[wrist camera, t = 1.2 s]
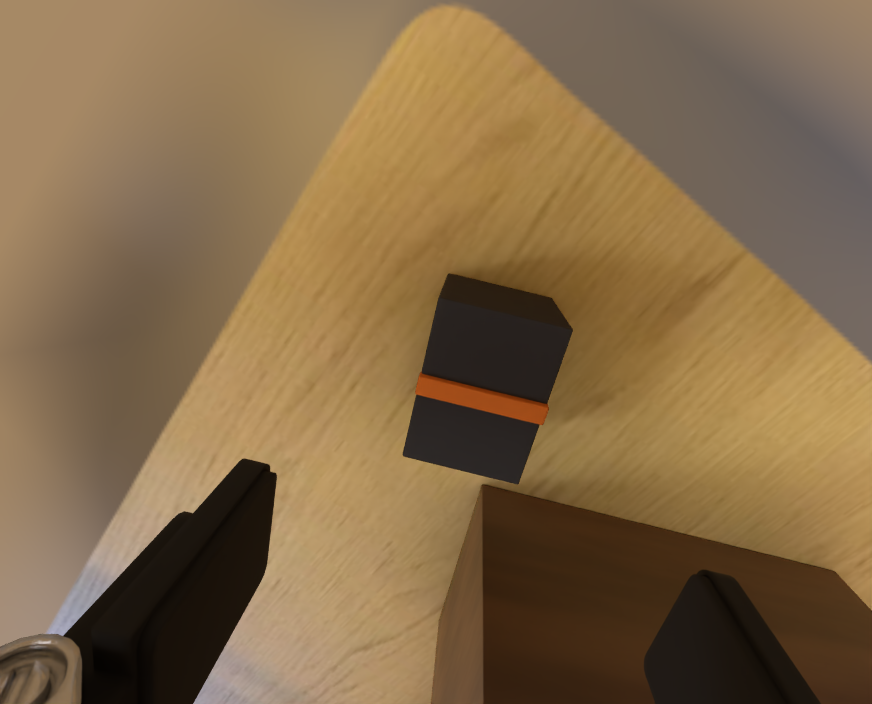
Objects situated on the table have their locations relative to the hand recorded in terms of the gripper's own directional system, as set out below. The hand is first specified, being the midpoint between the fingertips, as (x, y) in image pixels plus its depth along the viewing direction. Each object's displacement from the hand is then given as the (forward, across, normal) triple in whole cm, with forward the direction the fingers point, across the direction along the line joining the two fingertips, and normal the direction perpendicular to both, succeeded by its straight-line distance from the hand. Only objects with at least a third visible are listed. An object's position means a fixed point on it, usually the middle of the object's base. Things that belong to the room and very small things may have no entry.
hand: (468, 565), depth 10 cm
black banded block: (+13, 0, 0) cm, 13 cm away
